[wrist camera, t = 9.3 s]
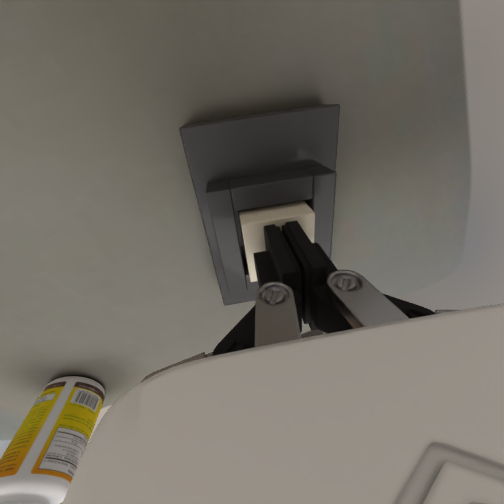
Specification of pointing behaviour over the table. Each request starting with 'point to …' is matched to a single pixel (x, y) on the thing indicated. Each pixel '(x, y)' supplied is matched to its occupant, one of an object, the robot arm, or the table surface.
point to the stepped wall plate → (260, 179)
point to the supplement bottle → (50, 442)
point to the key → (270, 215)
